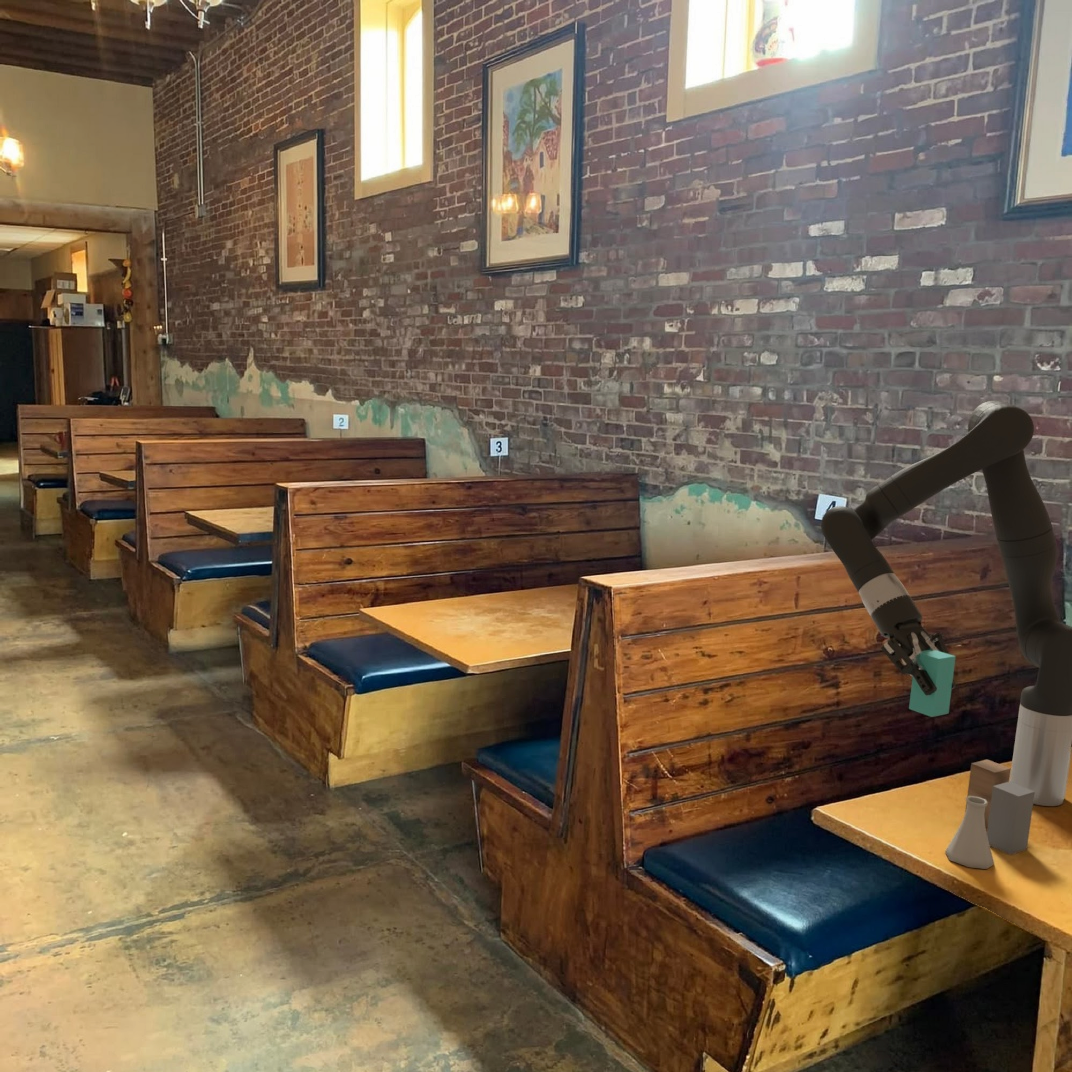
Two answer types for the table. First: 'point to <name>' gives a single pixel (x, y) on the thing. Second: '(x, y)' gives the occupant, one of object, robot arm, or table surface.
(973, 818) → the flask
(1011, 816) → the charcoal post
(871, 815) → the table surface
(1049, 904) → the table surface
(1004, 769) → the walnut post
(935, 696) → the teal post
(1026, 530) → the robot arm
